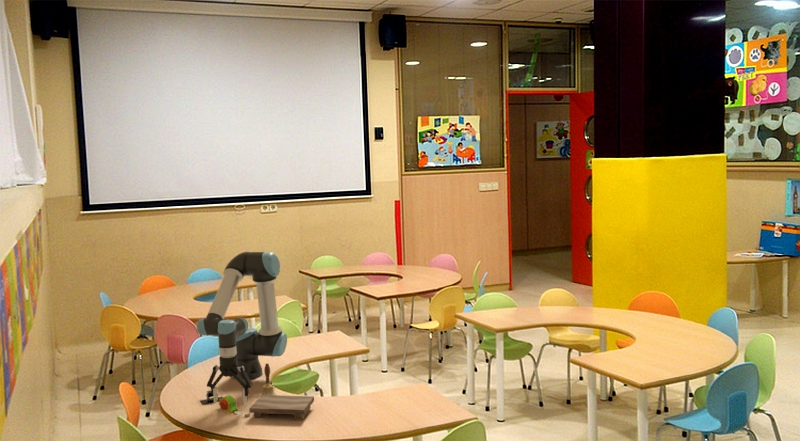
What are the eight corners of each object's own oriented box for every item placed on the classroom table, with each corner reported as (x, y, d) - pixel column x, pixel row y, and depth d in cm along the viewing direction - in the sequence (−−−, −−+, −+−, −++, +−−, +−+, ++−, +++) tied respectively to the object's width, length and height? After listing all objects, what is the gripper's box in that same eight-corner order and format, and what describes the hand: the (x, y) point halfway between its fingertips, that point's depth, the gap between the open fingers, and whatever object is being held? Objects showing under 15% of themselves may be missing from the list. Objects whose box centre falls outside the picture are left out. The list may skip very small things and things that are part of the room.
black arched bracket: (199, 407, 322) (199, 396, 321) (196, 401, 329) (195, 391, 328) (228, 401, 328) (228, 391, 327) (224, 396, 335) (223, 386, 334)
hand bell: (280, 394, 334) (279, 361, 332) (271, 401, 326) (270, 367, 324) (264, 393, 336) (263, 360, 334) (255, 399, 328) (254, 365, 327)
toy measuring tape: (225, 405, 322) (225, 391, 321) (253, 414, 310) (253, 400, 309) (214, 409, 317) (213, 395, 316) (242, 419, 305) (241, 404, 304)
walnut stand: (262, 405, 320) (261, 394, 319) (314, 407, 317) (313, 396, 316) (249, 419, 304) (249, 408, 304) (304, 421, 301) (304, 409, 300)
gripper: (197, 357, 310) (200, 404, 313) (252, 358, 307) (254, 406, 309) (204, 352, 318) (207, 398, 320) (258, 353, 314) (260, 400, 316)
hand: (230, 402), depth 314 cm, fingers open, 13 cm apart
